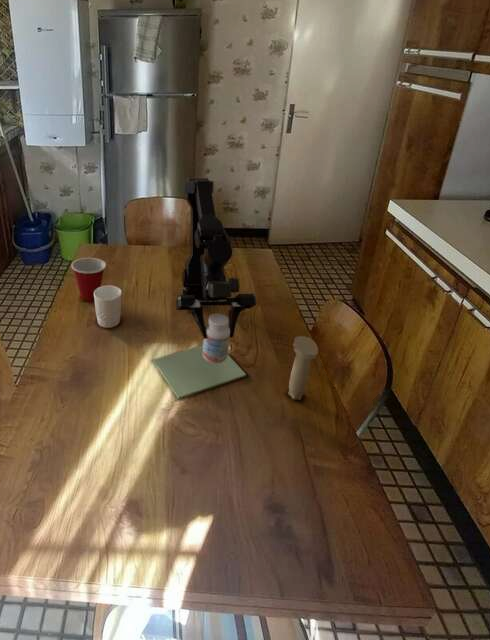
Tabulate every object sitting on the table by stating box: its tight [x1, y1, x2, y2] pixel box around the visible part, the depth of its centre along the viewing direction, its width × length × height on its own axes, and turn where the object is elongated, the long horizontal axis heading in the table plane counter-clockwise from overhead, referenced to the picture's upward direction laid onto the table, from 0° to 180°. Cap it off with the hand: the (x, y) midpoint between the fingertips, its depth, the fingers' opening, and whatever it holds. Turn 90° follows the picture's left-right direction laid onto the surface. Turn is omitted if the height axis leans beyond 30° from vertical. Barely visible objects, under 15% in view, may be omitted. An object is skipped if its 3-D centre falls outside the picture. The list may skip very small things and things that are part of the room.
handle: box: [288, 335, 319, 401], centre depth 100 cm, size 5×6×15 cm
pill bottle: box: [202, 312, 231, 363], centre depth 105 cm, size 6×6×11 cm
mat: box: [153, 344, 247, 400], centre depth 111 cm, size 19×14×1 cm
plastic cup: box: [70, 257, 107, 302], centre depth 138 cm, size 11×11×12 cm
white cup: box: [94, 284, 122, 329], centre depth 126 cm, size 8×8×10 cm
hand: (218, 338), depth 103 cm, fingers closed on pill bottle, 6 cm apart
